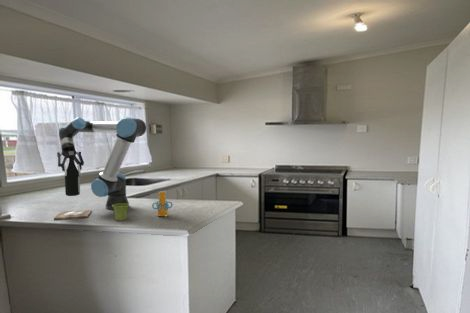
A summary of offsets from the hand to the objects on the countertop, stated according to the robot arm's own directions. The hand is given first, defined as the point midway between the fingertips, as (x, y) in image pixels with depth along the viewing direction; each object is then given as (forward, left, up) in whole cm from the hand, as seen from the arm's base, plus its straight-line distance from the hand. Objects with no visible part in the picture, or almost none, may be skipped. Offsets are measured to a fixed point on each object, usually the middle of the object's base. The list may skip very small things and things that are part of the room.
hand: (73, 173), depth 196 cm
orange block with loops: (-52, +12, -26) cm, 59 cm away
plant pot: (-28, +14, -27) cm, 41 cm away
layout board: (+1, -3, -26) cm, 27 cm away
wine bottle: (+1, -3, -14) cm, 14 cm away
